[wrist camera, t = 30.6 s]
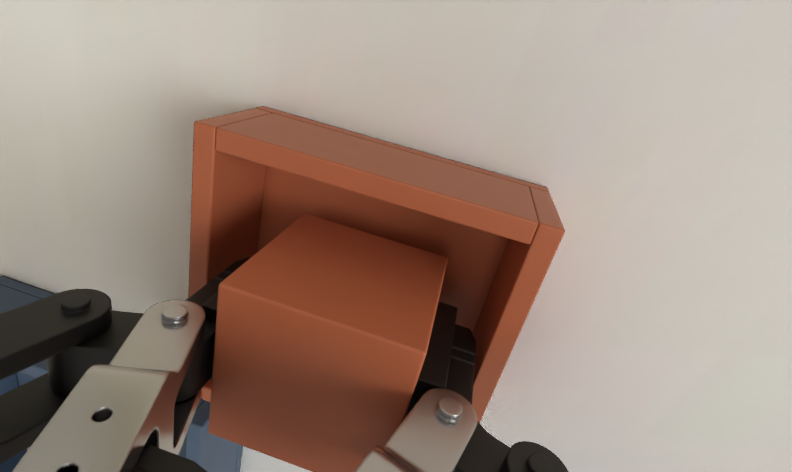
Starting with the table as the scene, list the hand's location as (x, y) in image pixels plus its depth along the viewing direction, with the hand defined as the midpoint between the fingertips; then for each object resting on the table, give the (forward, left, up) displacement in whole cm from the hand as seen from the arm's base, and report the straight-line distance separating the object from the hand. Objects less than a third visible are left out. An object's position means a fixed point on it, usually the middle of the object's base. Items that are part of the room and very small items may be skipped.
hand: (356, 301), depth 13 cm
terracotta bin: (0, 0, -2) cm, 2 cm away
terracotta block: (0, 0, 0) cm, 0 cm away
